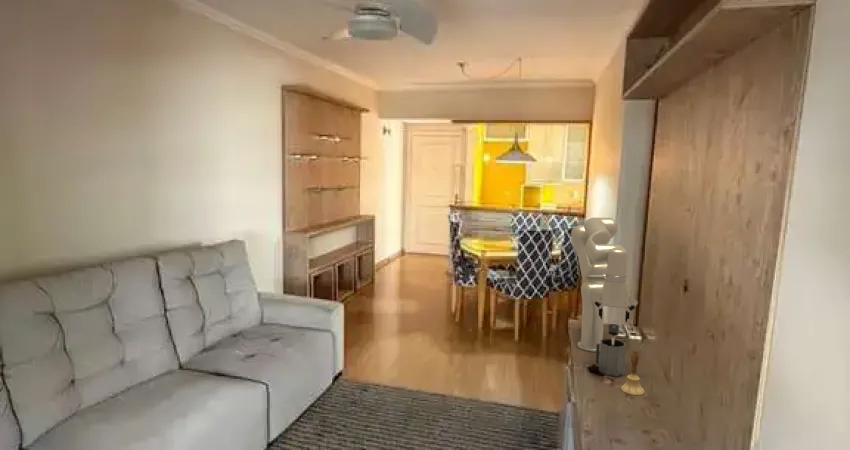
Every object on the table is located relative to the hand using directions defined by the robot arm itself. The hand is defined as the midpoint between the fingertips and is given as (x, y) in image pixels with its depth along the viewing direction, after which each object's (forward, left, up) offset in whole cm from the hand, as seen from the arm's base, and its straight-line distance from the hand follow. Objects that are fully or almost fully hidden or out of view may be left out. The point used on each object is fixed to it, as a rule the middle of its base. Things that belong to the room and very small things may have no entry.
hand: (613, 319), depth 203 cm
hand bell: (+16, +8, -23) cm, 29 cm away
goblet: (+1, 0, -19) cm, 19 cm away
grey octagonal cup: (+1, 0, -22) cm, 22 cm away
